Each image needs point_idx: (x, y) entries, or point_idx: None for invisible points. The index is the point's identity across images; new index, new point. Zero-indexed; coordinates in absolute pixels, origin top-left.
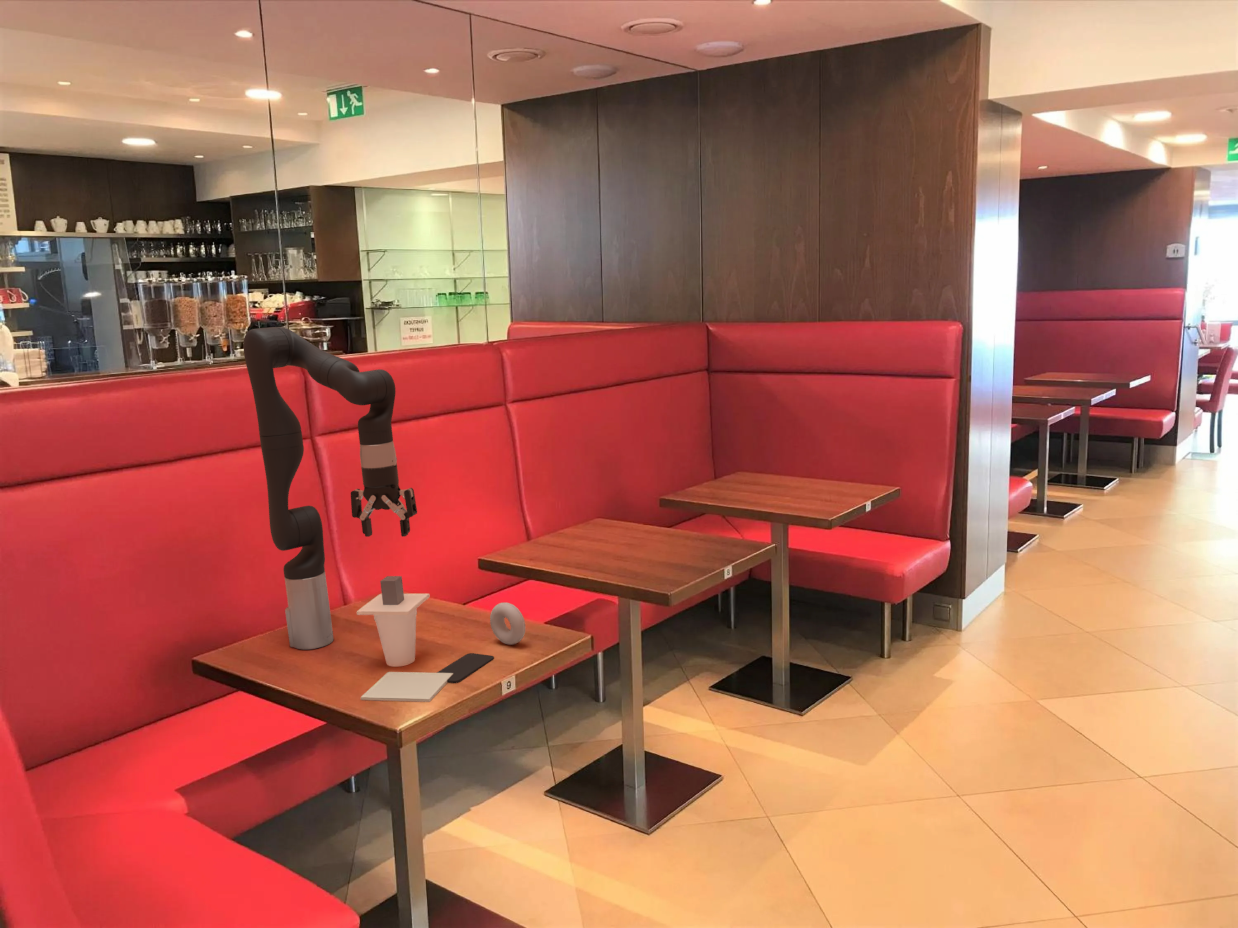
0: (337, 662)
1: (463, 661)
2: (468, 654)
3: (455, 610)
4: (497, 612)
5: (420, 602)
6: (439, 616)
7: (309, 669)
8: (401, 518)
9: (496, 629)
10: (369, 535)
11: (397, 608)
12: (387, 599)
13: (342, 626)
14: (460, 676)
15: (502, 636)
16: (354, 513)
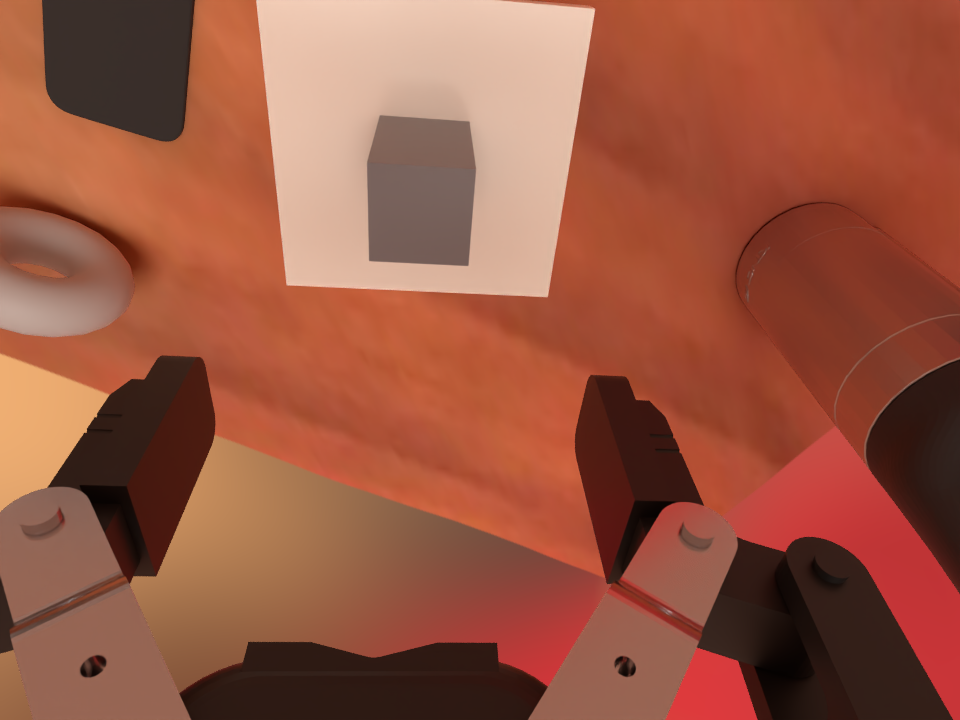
0: (677, 77)
1: (149, 50)
2: (170, 126)
3: (410, 485)
4: (40, 280)
5: (276, 168)
6: (441, 448)
7: (777, 4)
8: (74, 505)
9: (97, 257)
10: (586, 398)
11: (353, 48)
12: (438, 127)
13: (728, 387)
14: None
15: (75, 233)
16: (836, 588)
